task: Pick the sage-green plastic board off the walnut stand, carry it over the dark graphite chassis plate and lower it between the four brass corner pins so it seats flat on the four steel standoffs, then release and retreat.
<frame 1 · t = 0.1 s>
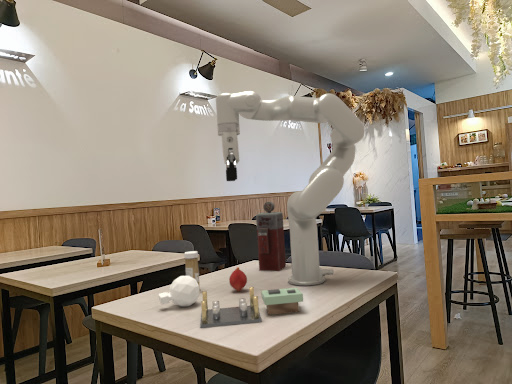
hand: (231, 180, 131), 37 cm above the table, tool pointing down, fingers open, 9 cm apart
walnut stand: (282, 311, 102), on the table
board: (281, 299, 102), point 3 cm above the table, touching walnut stand
chassis: (230, 317, 100), on the table
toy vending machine: (271, 269, 160), on the table
onion: (238, 292, 126), on the table
perfume bottle: (180, 306, 113), on the table
sprinkles bottle: (193, 292, 129), on the table
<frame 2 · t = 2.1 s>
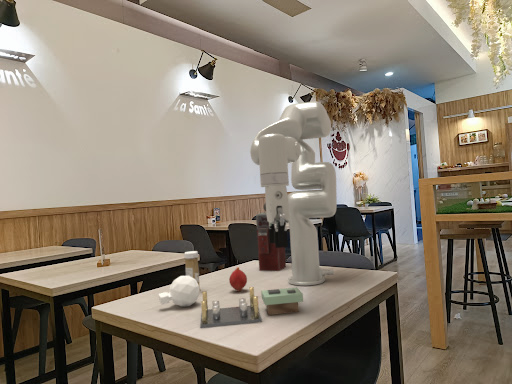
hand: (278, 245, 102), 18 cm above the table, tool pointing down, fingers open, 9 cm apart
nothing on the table moved.
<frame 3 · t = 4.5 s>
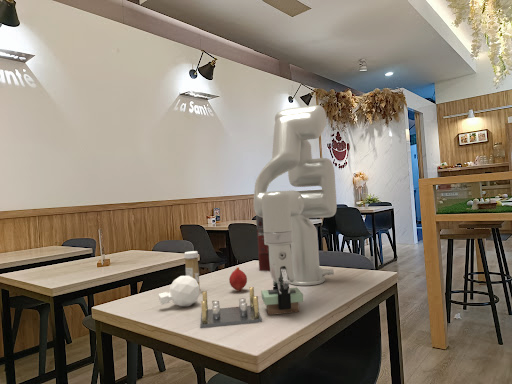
hand: (282, 304, 102), 2 cm above the table, tool pointing down, fingers closed on board, 7 cm apart
board: (281, 299, 102), point 3 cm above the table, touching gripper, walnut stand
everything else where it was.
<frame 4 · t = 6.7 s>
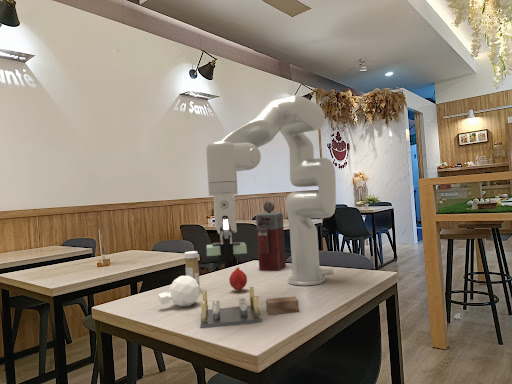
hand: (226, 257, 100), 16 cm above the table, tool pointing down, fingers closed on board, 7 cm apart
board: (226, 252, 100), point 17 cm above the table, touching gripper
everything else where it was.
when the fingers open (3 cm above the table, at t = 9.1 s): board stays where it is, resting on chassis.
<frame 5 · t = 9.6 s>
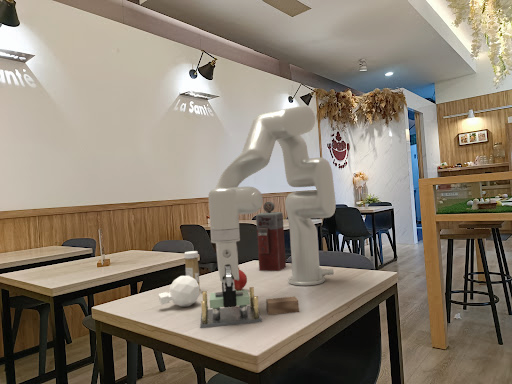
hand: (229, 301, 100), 4 cm above the table, tool pointing down, fingers open, 9 cm apart
board: (229, 302, 100), point 4 cm above the table, touching chassis
everything else where it was.
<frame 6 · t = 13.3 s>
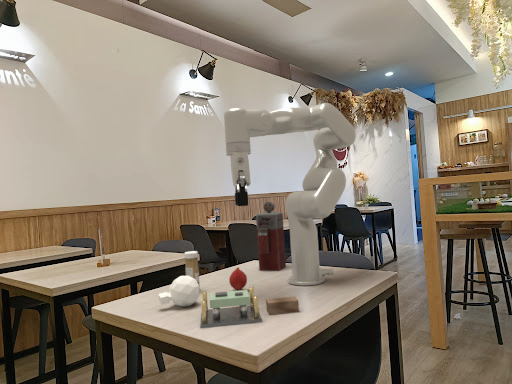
hand: (241, 205, 117), 28 cm above the table, tool pointing down, fingers open, 9 cm apart
nothing on the table moved.
at the end: board 0.1 cm off-centre on the chassis, point 3.8 cm above the chassis's base; board tilted 0°; the gripper is holding nothing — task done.
